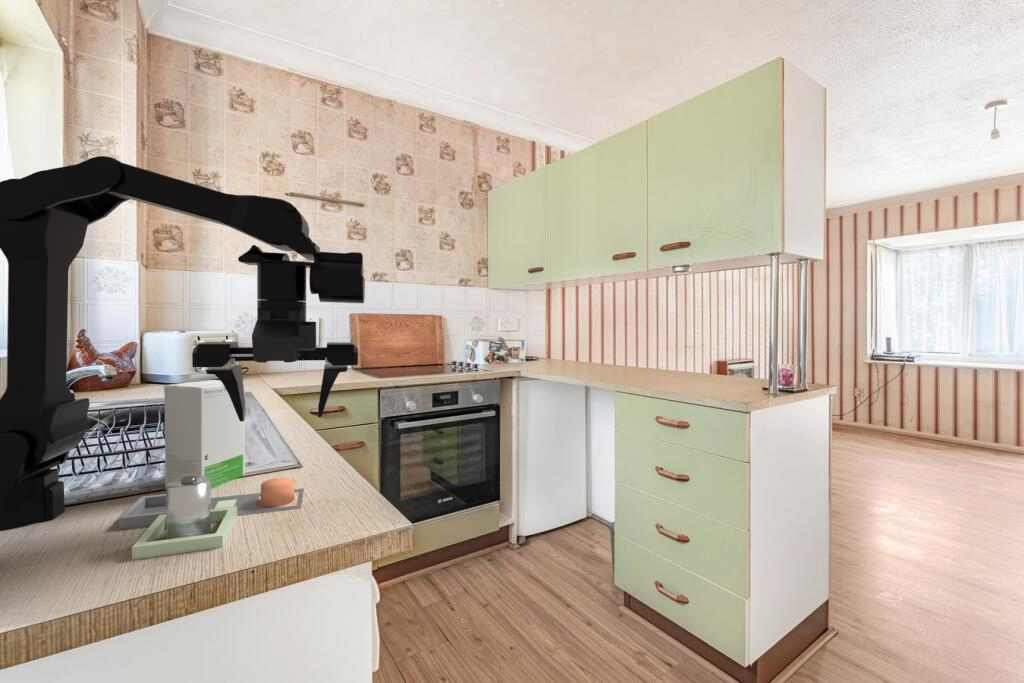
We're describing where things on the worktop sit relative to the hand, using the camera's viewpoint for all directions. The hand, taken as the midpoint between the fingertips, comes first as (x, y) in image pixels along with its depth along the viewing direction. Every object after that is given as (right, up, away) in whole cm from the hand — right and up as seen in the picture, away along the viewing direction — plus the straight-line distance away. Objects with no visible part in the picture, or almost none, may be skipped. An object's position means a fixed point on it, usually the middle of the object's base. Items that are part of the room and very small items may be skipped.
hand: (282, 418), depth 60 cm
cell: (-6, -12, -9) cm, 16 cm away
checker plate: (-7, -12, -2) cm, 14 cm away
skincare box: (-15, -12, +7) cm, 20 cm away
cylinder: (-1, -11, 0) cm, 11 cm away
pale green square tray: (-6, -12, -9) cm, 17 cm away
